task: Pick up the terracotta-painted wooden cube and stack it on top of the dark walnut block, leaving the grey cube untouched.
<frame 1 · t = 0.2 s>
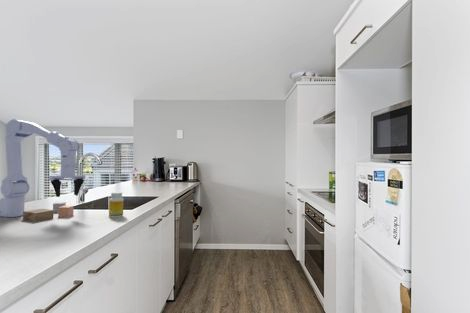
hand: (67, 195, 128), 10 cm above the table, tool pointing down, fingers open, 7 cm apart
grey cube: (59, 211, 142), on the table
walnut block: (38, 219, 124), on the table
supplement bottle: (115, 216, 134), on the table
terracotta cube: (65, 216, 132), on the table
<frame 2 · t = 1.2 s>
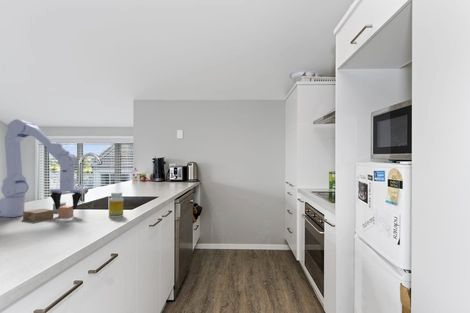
hand: (66, 208, 132), 3 cm above the table, tool pointing down, fingers open, 7 cm apart
nothing on the table moved.
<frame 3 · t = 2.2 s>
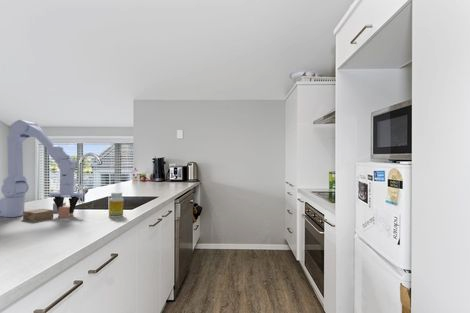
hand: (66, 212, 132), 1 cm above the table, tool pointing down, fingers closed on terracotta cube, 4 cm apart
terracotta cube: (65, 216, 132), on the table, touching gripper
everything else where it was.
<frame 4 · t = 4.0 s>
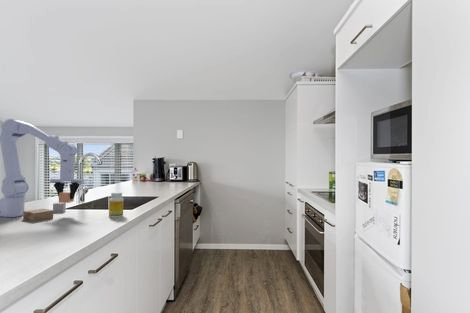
hand: (66, 198, 132), 8 cm above the table, tool pointing down, fingers closed on terracotta cube, 4 cm apart
terracotta cube: (66, 201, 132), point 7 cm above the table, touching gripper
everything else where it was.
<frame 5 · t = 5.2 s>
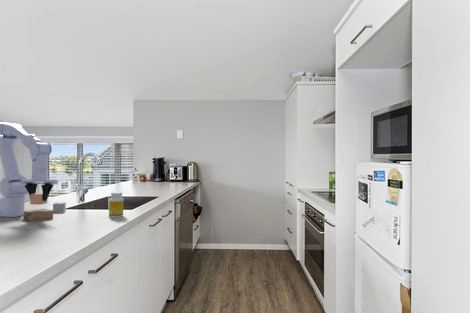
hand: (38, 200, 125), 8 cm above the table, tool pointing down, fingers closed on terracotta cube, 4 cm apart
terracotta cube: (38, 203, 125), point 7 cm above the table, touching gripper
everything else where it was.
when the fingers open (6 cm above the table, at t = 6.0 s): terracotta cube drops 1 cm, resting on walnut block.
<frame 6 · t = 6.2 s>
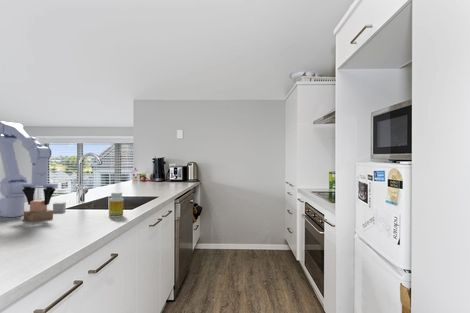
hand: (38, 204, 125), 6 cm above the table, tool pointing down, fingers open, 6 cm apart
walnut block: (38, 219, 124), on the table, touching terracotta cube
terracotta cube: (38, 210, 124), point 4 cm above the table, touching walnut block
everything else where it was.
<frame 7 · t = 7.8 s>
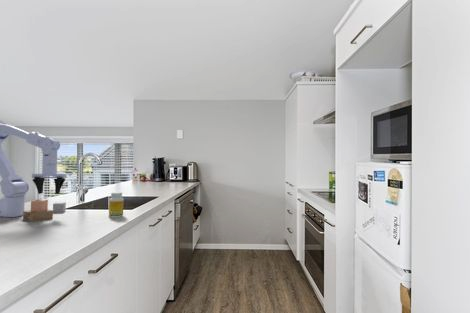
hand: (48, 193, 131), 10 cm above the table, tool pointing down, fingers open, 7 cm apart
nothing on the table moved.
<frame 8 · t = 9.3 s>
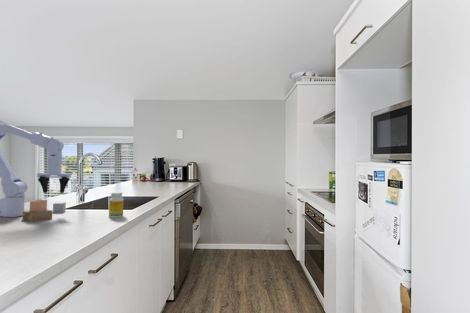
hand: (53, 192, 135), 10 cm above the table, tool pointing down, fingers open, 7 cm apart
walnut block: (37, 219, 124), on the table
terracotta cube: (38, 210, 124), point 4 cm above the table
everything else where it was.
at the end: terracotta cube 0.1 cm off-centre on the walnut block, point 4.0 cm above the walnut block's base; terracotta cube tilted 0°; the gripper is holding nothing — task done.
